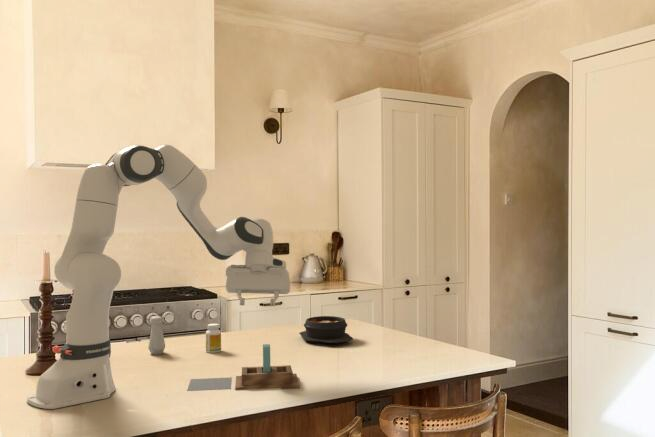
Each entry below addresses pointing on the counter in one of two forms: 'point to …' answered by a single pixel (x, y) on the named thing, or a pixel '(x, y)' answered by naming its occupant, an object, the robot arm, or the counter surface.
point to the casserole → (326, 330)
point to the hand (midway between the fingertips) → (257, 304)
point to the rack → (267, 378)
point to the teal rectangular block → (266, 358)
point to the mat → (209, 384)
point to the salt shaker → (156, 336)
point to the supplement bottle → (213, 339)
